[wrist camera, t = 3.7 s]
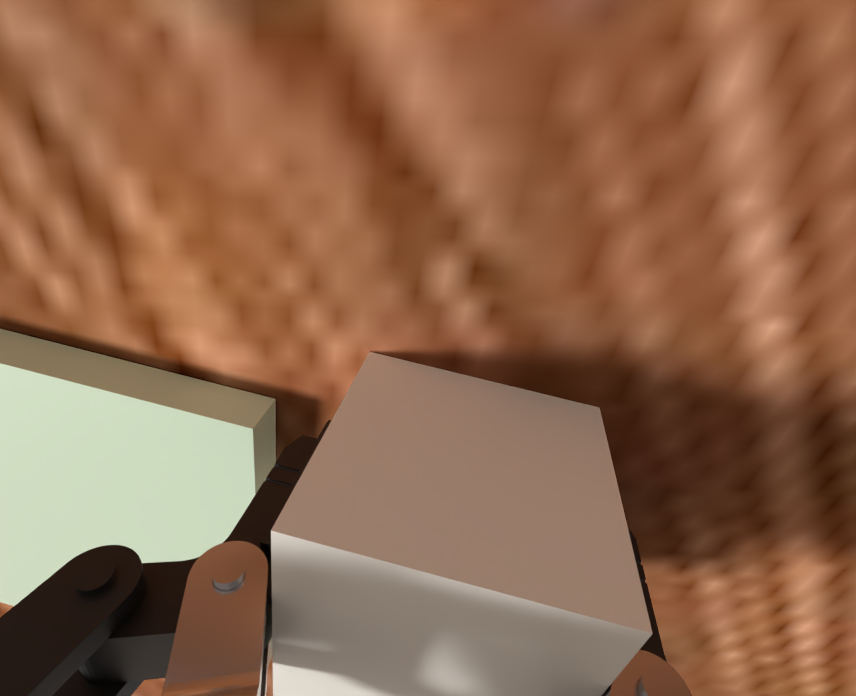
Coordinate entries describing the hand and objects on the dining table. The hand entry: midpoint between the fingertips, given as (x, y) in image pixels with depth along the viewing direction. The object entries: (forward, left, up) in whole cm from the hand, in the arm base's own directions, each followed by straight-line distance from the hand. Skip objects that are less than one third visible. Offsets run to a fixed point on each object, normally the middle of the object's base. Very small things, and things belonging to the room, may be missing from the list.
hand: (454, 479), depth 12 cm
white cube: (0, 0, -1) cm, 1 cm away
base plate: (+11, +6, -1) cm, 13 cm away
